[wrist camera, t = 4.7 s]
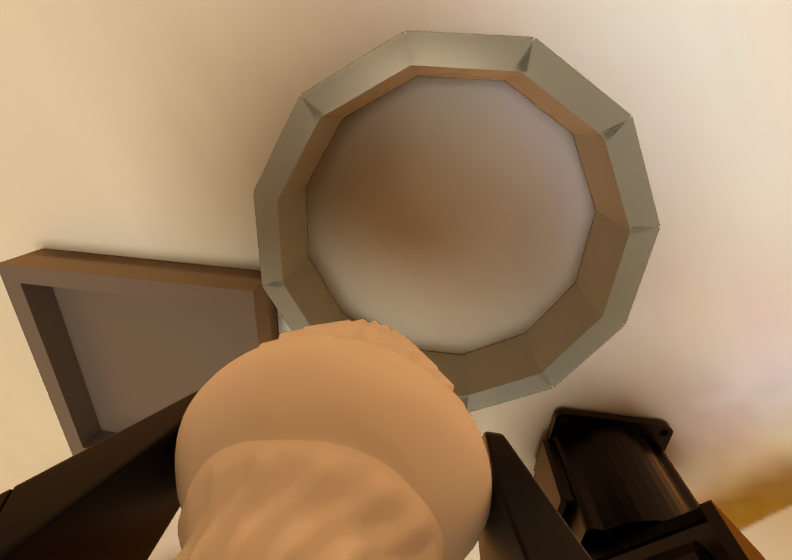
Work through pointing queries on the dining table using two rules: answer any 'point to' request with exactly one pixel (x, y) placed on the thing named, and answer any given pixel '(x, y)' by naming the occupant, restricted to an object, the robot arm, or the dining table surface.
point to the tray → (130, 332)
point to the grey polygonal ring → (602, 163)
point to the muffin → (331, 454)
